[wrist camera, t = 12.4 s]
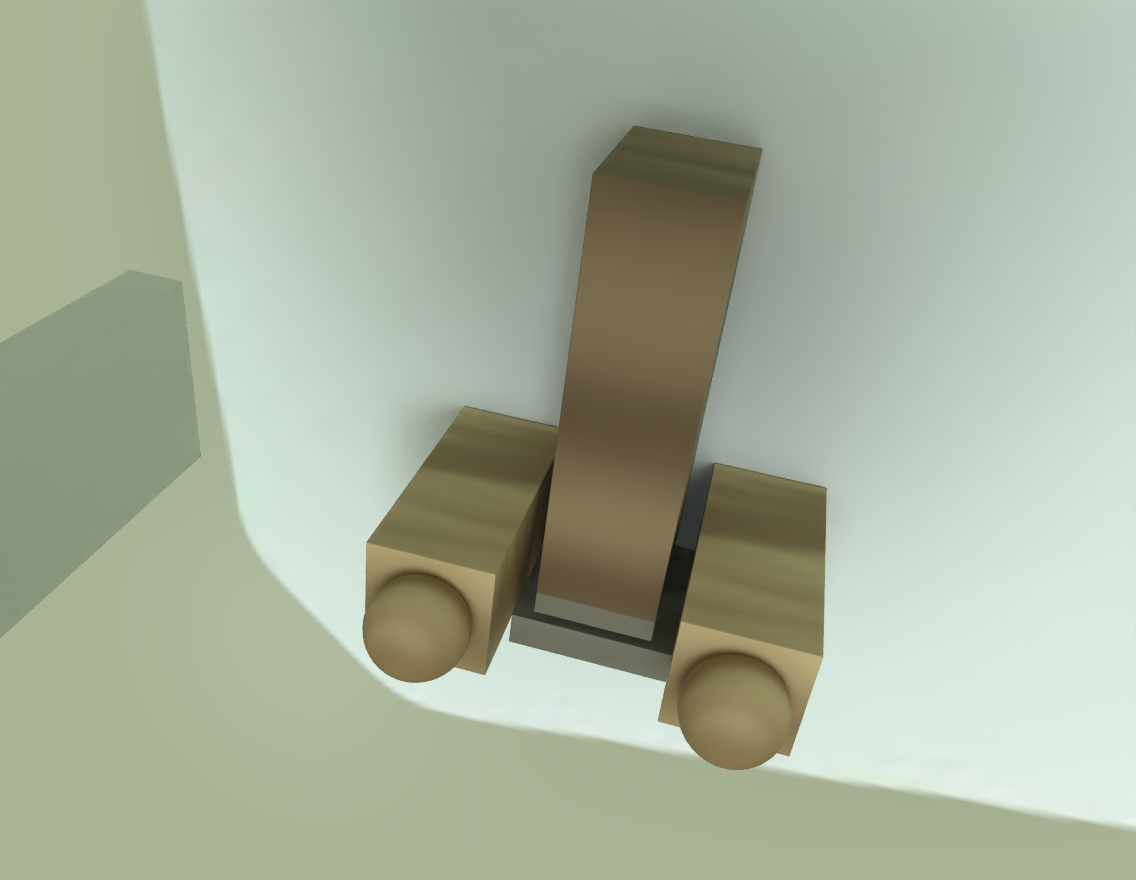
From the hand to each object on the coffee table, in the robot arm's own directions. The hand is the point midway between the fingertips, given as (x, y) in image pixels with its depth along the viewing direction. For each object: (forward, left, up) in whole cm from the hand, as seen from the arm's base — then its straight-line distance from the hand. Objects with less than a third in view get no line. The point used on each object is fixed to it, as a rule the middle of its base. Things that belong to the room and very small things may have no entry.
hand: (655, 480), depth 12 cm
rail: (+7, -2, -20) cm, 22 cm away
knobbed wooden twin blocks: (+13, -2, -20) cm, 24 cm away
